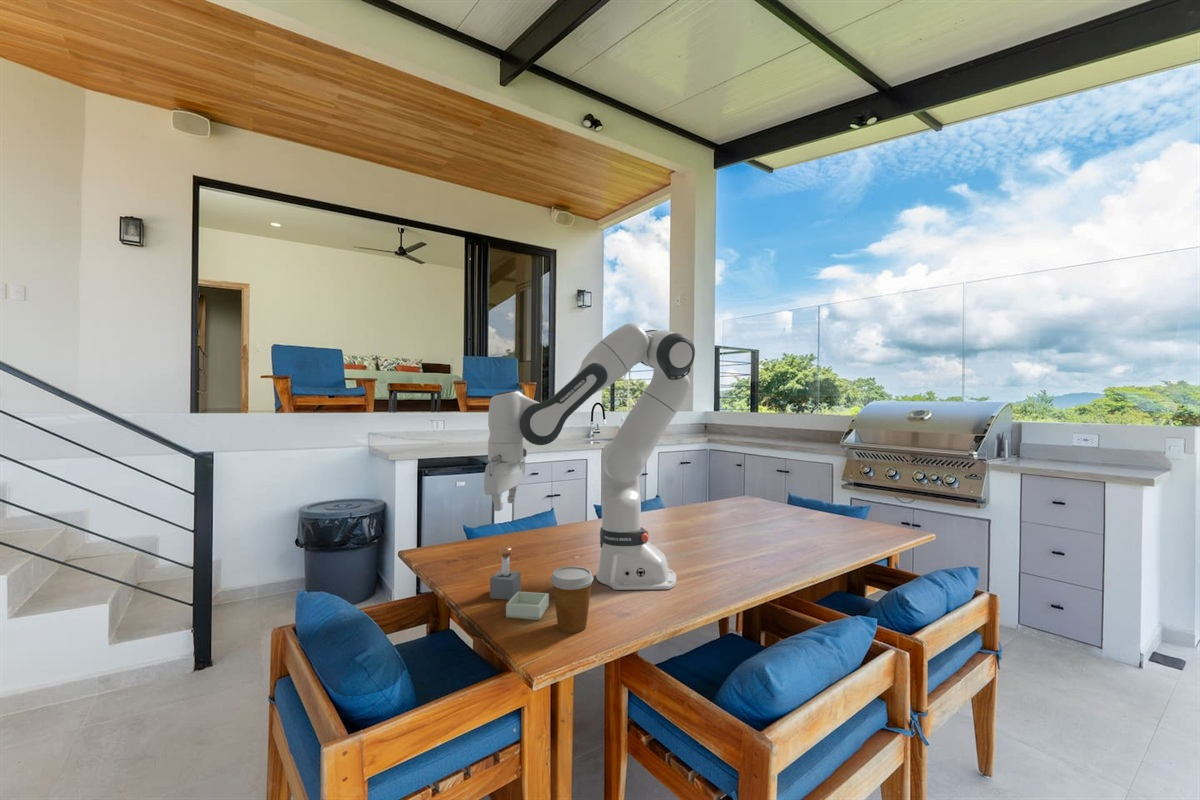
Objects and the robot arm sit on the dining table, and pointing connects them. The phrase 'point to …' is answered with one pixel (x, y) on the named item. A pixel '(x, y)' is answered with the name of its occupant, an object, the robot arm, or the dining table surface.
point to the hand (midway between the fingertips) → (505, 506)
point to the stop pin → (505, 560)
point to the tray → (527, 605)
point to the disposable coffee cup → (572, 597)
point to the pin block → (505, 585)
